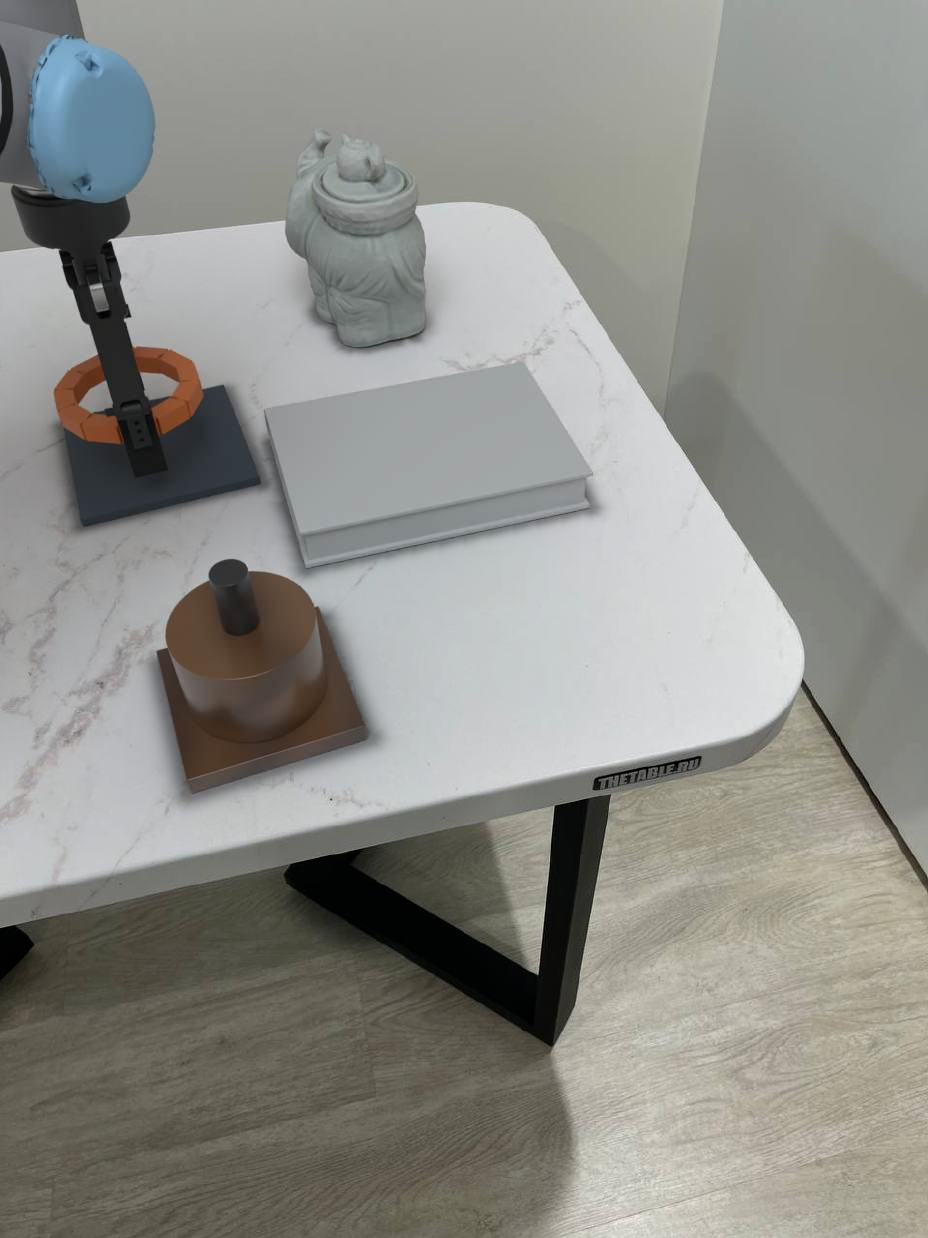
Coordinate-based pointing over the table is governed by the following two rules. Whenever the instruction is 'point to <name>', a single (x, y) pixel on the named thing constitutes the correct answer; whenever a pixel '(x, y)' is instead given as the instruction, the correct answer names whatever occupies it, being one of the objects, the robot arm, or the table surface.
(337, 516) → the book
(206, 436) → the mat
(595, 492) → the table surface
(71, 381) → the ring
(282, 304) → the table surface
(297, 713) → the ring stand
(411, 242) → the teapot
